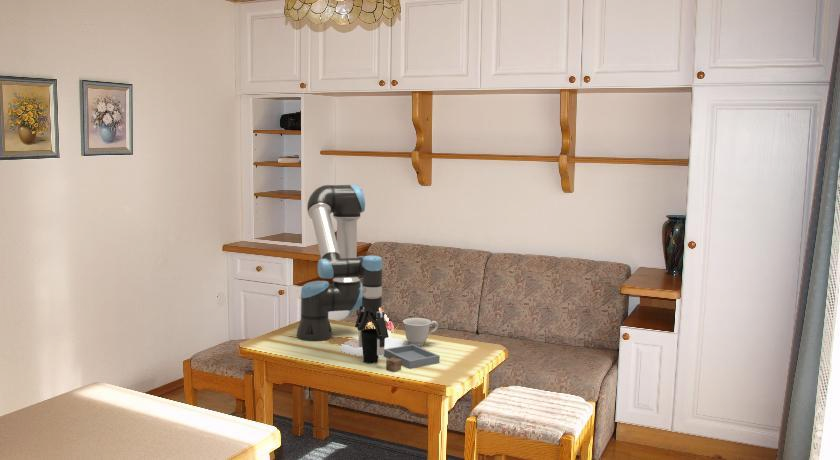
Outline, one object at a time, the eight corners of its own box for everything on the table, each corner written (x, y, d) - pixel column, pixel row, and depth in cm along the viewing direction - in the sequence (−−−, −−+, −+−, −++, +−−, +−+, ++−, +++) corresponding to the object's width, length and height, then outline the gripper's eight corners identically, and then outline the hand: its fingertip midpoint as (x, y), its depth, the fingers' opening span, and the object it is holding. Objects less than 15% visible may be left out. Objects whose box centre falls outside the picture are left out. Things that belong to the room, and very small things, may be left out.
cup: (377, 365, 292) (378, 334, 291) (358, 363, 294) (358, 333, 292) (382, 359, 300) (383, 329, 298) (363, 357, 301) (364, 327, 300)
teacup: (440, 347, 317) (441, 324, 316) (405, 349, 314) (406, 325, 312) (433, 339, 329) (434, 316, 328) (399, 341, 325) (400, 318, 324)
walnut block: (386, 370, 287) (386, 359, 286) (392, 367, 290) (392, 357, 290) (394, 372, 285) (395, 362, 284) (401, 369, 288) (401, 359, 287)
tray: (383, 356, 304) (383, 349, 303) (412, 350, 312) (412, 344, 312) (409, 368, 289) (409, 361, 289) (439, 362, 298) (439, 355, 297)
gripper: (346, 291, 301) (346, 344, 304) (381, 303, 281) (380, 360, 284) (363, 289, 305) (362, 341, 308) (398, 301, 285) (397, 357, 288)
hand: (371, 350), depth 296 cm, fingers open, 13 cm apart
